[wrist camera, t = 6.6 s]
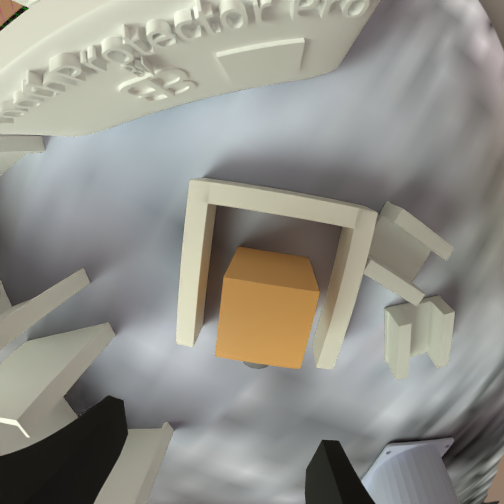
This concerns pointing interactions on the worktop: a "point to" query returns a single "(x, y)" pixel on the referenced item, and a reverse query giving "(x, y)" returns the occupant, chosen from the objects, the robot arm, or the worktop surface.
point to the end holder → (287, 204)
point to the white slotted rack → (62, 375)
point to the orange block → (266, 309)
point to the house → (8, 10)
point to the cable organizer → (159, 55)
